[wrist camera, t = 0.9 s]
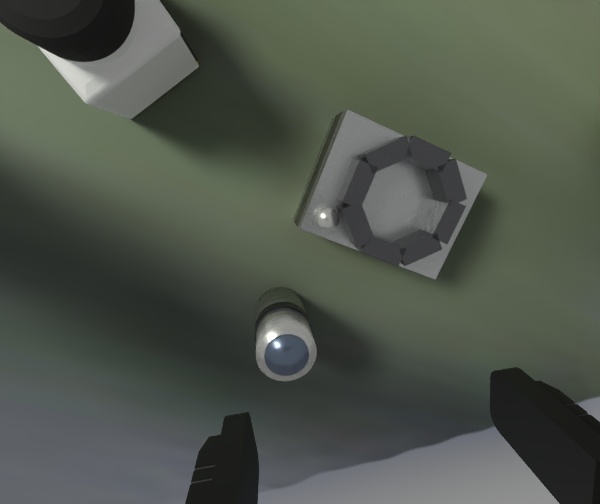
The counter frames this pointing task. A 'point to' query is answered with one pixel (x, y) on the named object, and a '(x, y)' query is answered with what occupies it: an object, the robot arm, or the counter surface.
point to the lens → (283, 336)
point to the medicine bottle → (106, 48)
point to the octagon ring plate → (387, 194)
